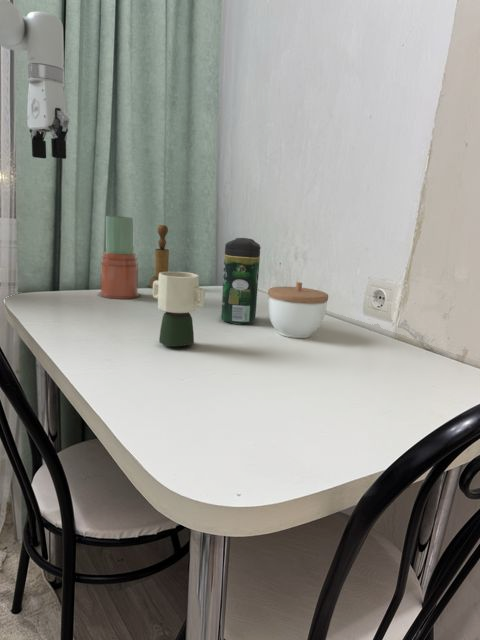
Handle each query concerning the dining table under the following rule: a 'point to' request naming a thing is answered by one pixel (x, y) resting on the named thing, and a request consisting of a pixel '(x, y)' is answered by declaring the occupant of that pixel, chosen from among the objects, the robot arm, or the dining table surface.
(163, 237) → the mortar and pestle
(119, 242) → the cup
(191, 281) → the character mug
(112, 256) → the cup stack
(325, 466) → the dining table surface
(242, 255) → the coffee jar
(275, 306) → the lidded bowl
